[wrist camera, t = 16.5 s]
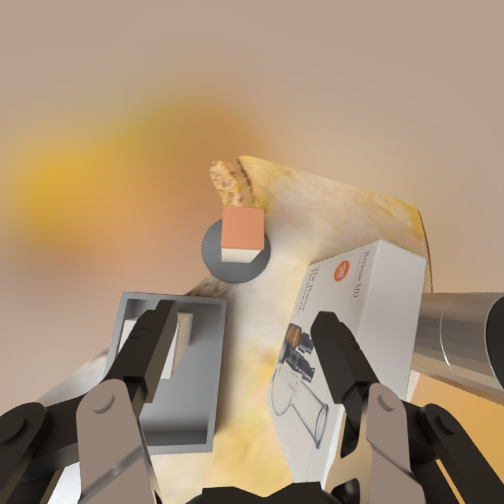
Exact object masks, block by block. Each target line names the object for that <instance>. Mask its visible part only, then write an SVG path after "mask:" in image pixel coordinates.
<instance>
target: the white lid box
mask: <svg viewBox="0 0 504 504" xmlns="http://www.w3.org/2000/svg"><path fill="white" fill-rule="evenodd" d="M177 315H178V323H177V329H176V332H175V335H174V338H173V341H172V344H171V347H170V350H169V353H168V356H167V359H166V362H165V365H164V369H163V372H162V375H161V378H160V379H170V378H171V376H172V375H173V372H174V370H175V369H176V367H177V365H178V364H179V362H180V360H181V359H182V357H183V356H184V354H185V352H186V351H187V349H188V348H189V344H190V337H191V329H192V322H193V315H194V313H189V312H177ZM138 318H139V317H138ZM138 318H134V319H128V320H125V324H124V328H123V333H122V337H121V342H120V347H119V351H118V353H119V352H120V350H121V348H122V346H123V344H124V343H125V341H126V339H127V338H128V335H129V334H130V332H131V330H132V329H133V326H134V325H135V323H136V321H137V319H138Z"/></svg>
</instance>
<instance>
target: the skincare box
mask: <svg viewBox="0 0 504 504" xmlns="http://www.w3.org/2000/svg"><path fill="white" fill-rule="evenodd" d="M426 265H427V259H426V258H424V257H421V256H419V255H417V254H415V253H412V252H410V251H408V250H406V249H404V248H401V247H399V246H397V245H395V244H392V243H390V242H388V241H385V240H383V239H379V240H377V241H374V242H371V243H369V244H366V245H363V246H361V247H358V248H355V249H352V250H350V251H347V252H344V253H342V254H339V255H336V256H333V257H331V258H328V259H325V260H322V261H320V262H317V263H314V264H311V265H309V266H308V268H307V271H306V274H305V277H304V280H303V282H302V285H301V288H300V291H299V294H298V297H297V300H296V303H295V306H294V309H293V312H292V315H291V318H290V321H289V324H288V327H287V330H286V333H285V336H284V339H283V342H282V345H281V348H280V351H279V354H278V357H277V360H276V363H275V366H274V369H273V372H272V375H271V378H270V381H269V384H268V387H267V390H266V393H265V396H264V398H265V401H266V403H267V406H268V409H269V412H270V415H271V418H272V420H273V423H274V426H275V429H276V432H277V435H278V437H279V440H280V443H281V446H282V449H283V452H284V455H285V457H286V460H287V463H288V466H289V469H290V472H291V475H292V478H293V480H294V483H299V482H316V481H320V483H321V487H322V489H323V490H324V489H325V484H326V479H327V476H328V472H329V470H330V467H331V465H332V464H333V461H334V459H335V455H336V450H337V444H338V439H339V433H340V428H341V422H342V417H343V412H344V410H345V408H344V406H343V404H334V402H333V399H332V396H331V393H330V391H329V388H328V385H327V382H326V379H325V376H324V373H323V371H322V368H321V365H320V362H319V359H318V356H317V353H316V351H315V348H314V345H313V342H312V339H311V335H310V329H311V326H312V324H313V322H314V320H315V318H316V316H317V314H318V312H319V311H330V312H334V313H335V314H336V315H337V317H338V319H339V321H340V322H343V323H344V324H345V325H346V326H347V327H348V328H349V329H350V330H351V332H352V334H353V335H354V337H355V339H356V341H357V343H358V344H359V346H360V349H361V350H362V351H363V353H364V355H365V357H366V358H367V360H368V362H369V364H370V366H371V367H372V369H373V371H374V373H375V374H376V376H377V378H378V380H379V381H380V383H381V384H383V385H385V386H387V387H388V388H390V389H391V390H392V391H393V392H394V393H395V394H396V395H397V396H398V397H399V399H401V400H403V401H406V394H407V388H408V382H409V376H410V369H411V363H412V356H413V349H414V343H415V337H416V330H417V324H418V318H419V311H420V305H421V297H422V291H423V284H424V278H425V272H426Z"/></svg>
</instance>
